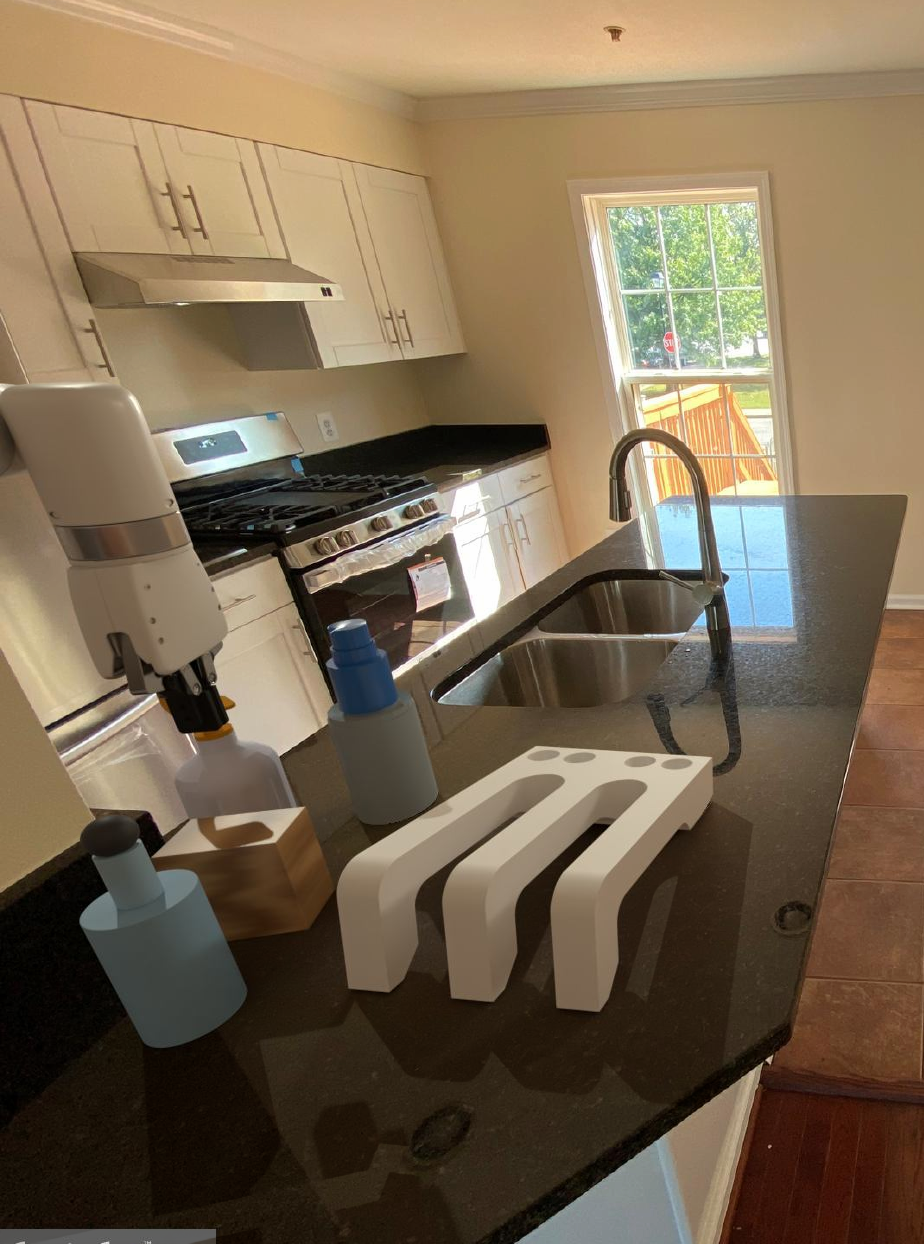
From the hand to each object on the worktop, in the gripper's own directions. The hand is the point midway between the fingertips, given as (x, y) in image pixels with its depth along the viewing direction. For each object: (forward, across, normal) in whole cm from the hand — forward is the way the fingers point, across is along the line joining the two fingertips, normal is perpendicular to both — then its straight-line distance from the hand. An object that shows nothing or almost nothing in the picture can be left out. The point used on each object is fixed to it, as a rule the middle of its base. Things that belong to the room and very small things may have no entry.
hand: (205, 727), depth 67 cm
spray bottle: (+22, -17, +6) cm, 29 cm away
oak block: (+22, +1, 0) cm, 22 cm away
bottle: (+22, +10, 0) cm, 24 cm away
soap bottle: (+22, -13, -8) cm, 27 cm away
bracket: (+22, +2, +28) cm, 36 cm away
